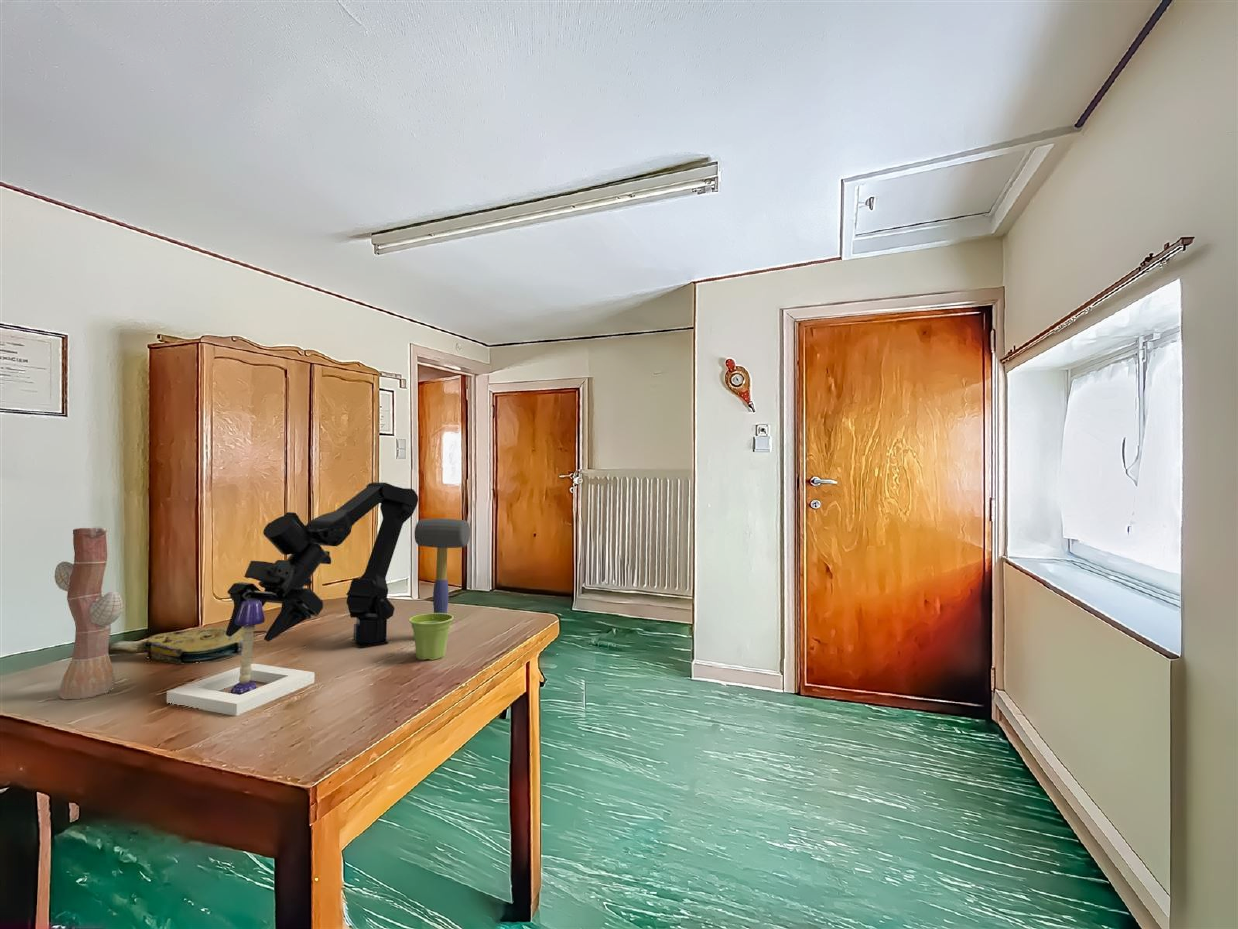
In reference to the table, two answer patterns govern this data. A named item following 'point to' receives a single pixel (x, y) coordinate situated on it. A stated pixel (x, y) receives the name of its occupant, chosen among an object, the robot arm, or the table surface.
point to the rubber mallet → (442, 550)
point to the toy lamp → (247, 642)
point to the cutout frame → (211, 699)
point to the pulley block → (185, 645)
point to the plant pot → (431, 634)
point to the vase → (88, 615)
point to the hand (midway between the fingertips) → (246, 638)
